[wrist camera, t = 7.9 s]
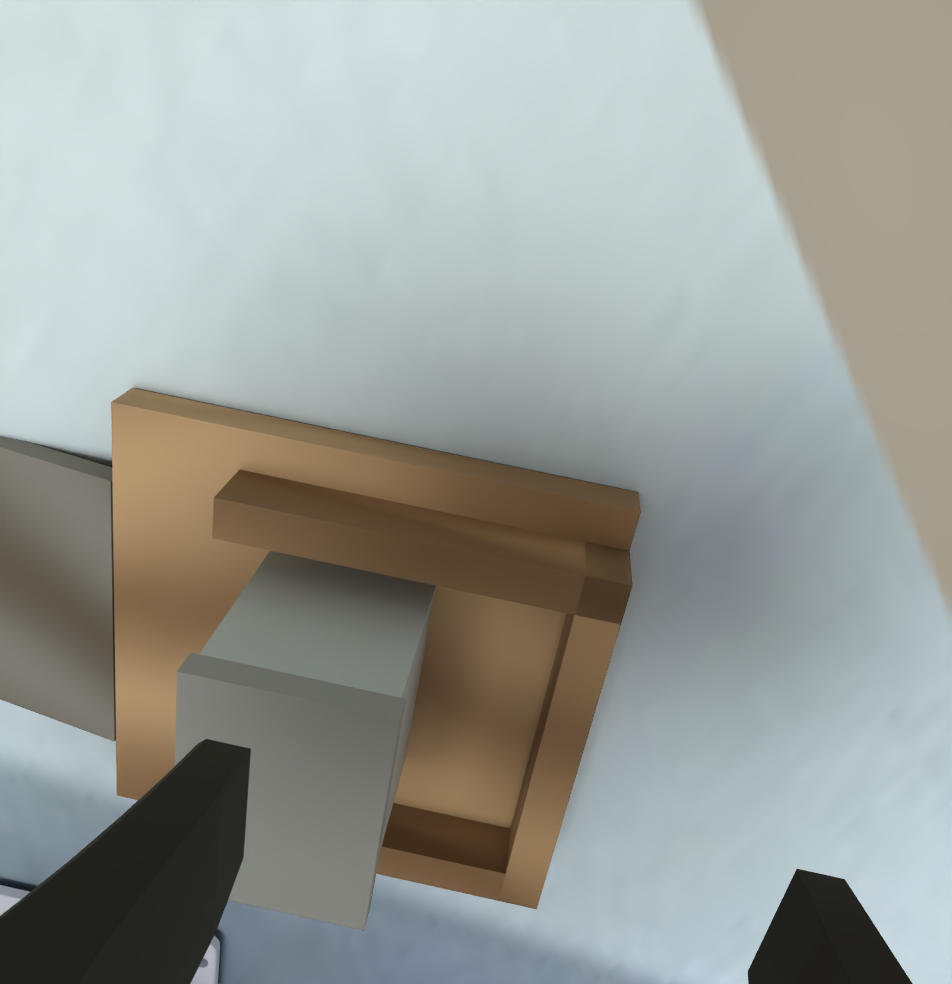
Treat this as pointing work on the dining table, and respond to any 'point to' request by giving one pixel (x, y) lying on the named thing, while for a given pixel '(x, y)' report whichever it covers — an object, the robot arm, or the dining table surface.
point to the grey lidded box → (311, 725)
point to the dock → (342, 541)
